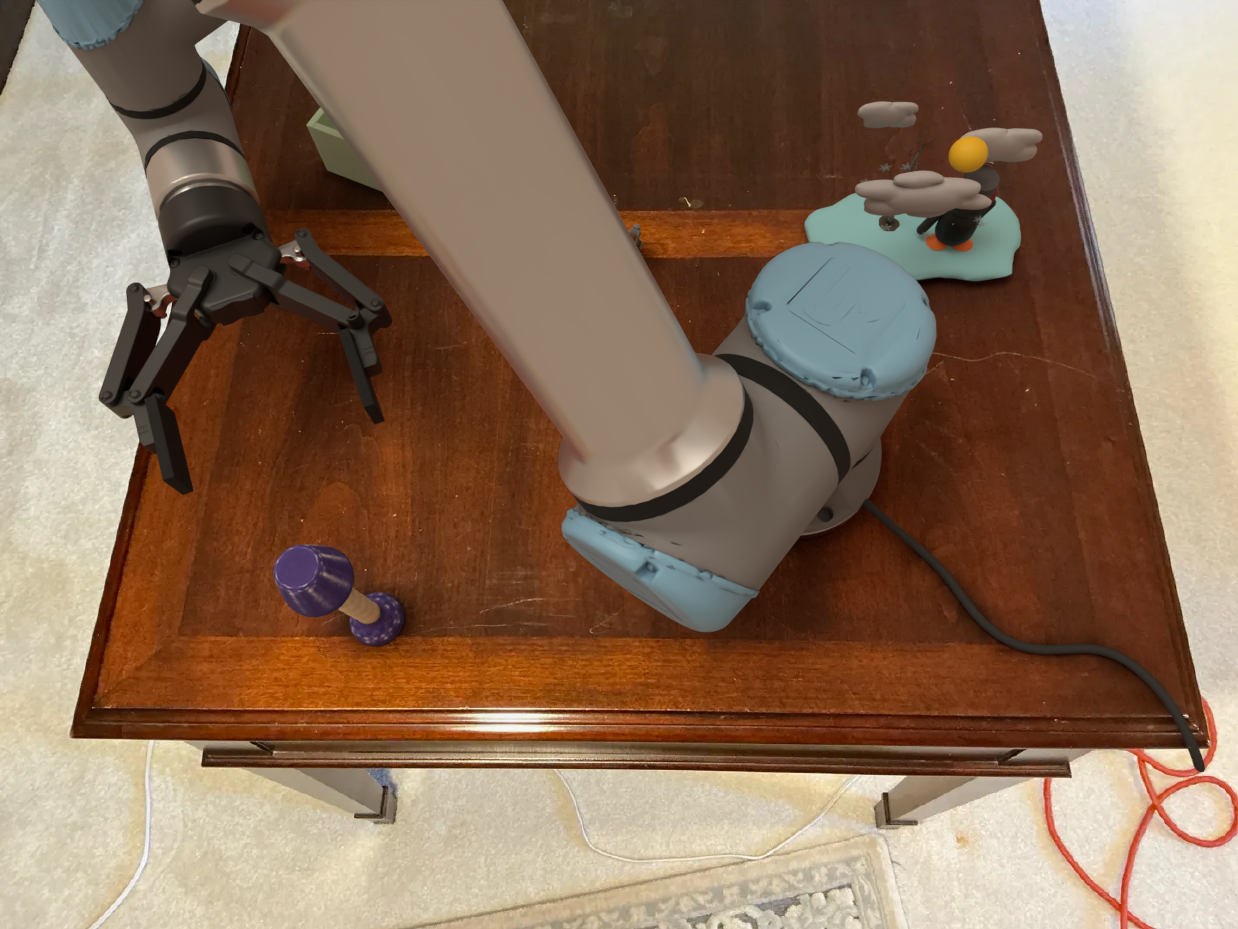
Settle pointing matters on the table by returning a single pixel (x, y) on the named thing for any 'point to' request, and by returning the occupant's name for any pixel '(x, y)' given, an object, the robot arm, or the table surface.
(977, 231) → the penguin figurine
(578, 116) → the table surface
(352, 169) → the tote
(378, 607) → the toy lamp
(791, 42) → the table surface
